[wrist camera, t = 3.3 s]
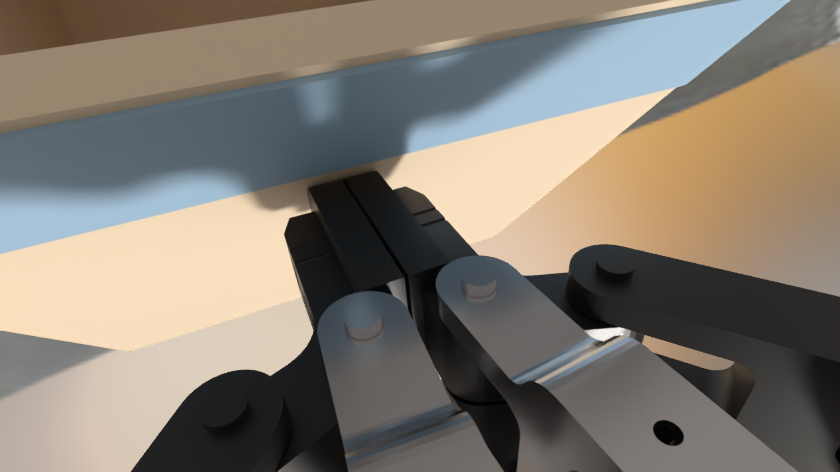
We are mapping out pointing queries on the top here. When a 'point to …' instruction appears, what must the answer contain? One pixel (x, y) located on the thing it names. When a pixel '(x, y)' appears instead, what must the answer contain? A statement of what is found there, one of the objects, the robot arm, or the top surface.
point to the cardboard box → (125, 18)
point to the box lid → (304, 140)
